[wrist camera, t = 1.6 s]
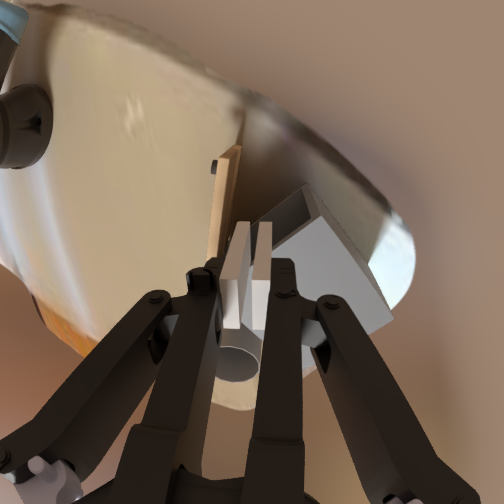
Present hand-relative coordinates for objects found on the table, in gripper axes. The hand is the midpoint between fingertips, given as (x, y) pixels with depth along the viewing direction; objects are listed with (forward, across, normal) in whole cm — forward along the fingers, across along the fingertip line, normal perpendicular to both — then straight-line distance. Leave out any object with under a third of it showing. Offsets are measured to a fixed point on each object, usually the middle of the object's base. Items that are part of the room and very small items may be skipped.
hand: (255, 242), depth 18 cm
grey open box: (+21, +5, -12) cm, 25 cm away
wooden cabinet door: (+21, -5, -3) cm, 22 cm away
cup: (+22, -4, -25) cm, 34 cm away
